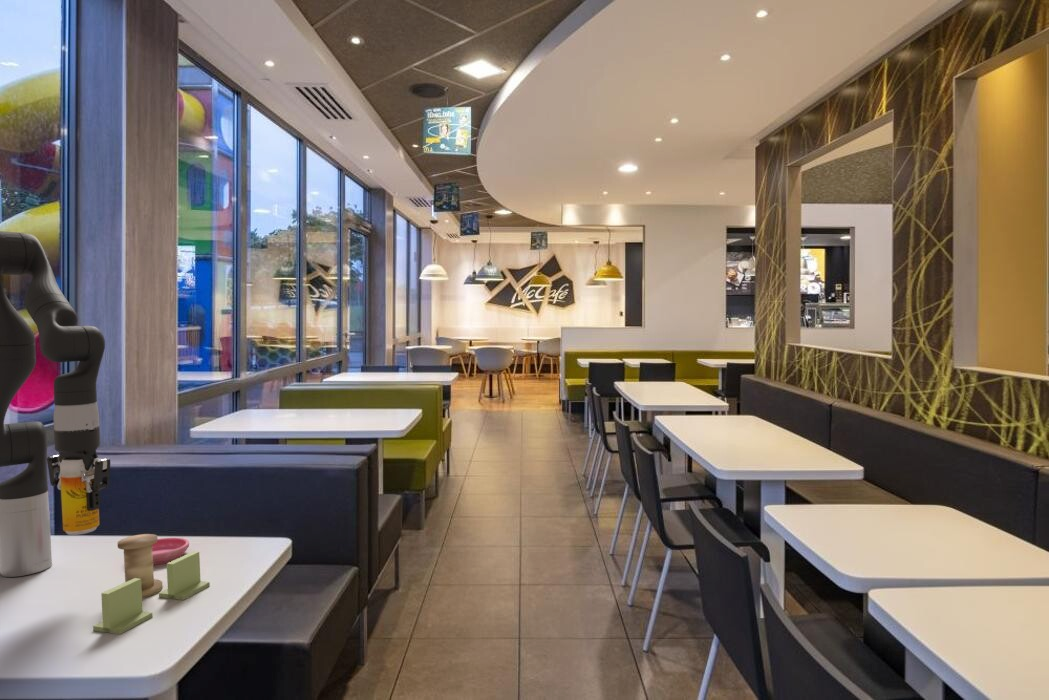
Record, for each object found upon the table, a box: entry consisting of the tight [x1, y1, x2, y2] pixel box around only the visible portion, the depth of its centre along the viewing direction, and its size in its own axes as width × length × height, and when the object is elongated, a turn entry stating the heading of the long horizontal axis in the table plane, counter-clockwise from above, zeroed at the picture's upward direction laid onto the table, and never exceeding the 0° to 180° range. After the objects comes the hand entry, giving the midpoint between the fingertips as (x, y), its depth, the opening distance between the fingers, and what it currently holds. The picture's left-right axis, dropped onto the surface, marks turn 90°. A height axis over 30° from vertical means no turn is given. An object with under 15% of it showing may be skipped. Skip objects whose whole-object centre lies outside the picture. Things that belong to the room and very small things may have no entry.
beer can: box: [60, 458, 100, 536], centre depth 131 cm, size 6×6×15 cm
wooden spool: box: [117, 533, 164, 599], centre depth 133 cm, size 8×8×11 cm
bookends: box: [92, 550, 211, 635], centre depth 126 cm, size 6×22×7 cm, turn 164°
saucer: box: [152, 537, 190, 566], centre depth 153 cm, size 12×12×3 cm
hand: (80, 507), depth 131 cm, fingers closed on beer can, 6 cm apart
